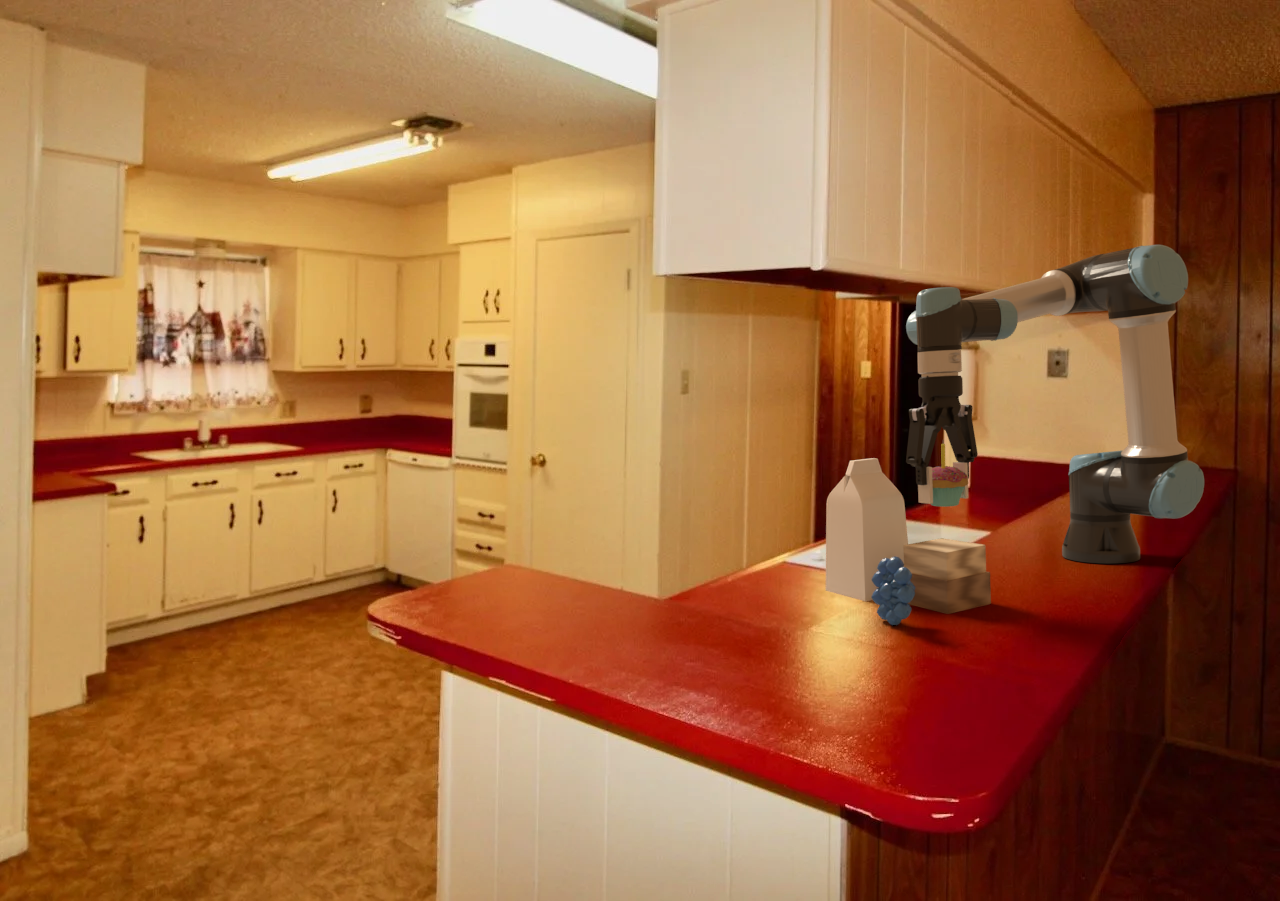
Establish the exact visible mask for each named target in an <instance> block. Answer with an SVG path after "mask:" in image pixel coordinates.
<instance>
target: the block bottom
mask: <svg viewBox="0 0 1280 901" xmlns="http://www.w3.org/2000/svg"><path fill="white" fill-rule="evenodd" d="M910 581H911V582H912V583H913V584H914V586H915V596H914V598H913V599H912V600H911V601H910V602H909V603H908V604H909V605H910V606H915V607H917V608H918V607H919V608H923V609H927V610H930V611H935V612H938V613H942V614H946V615H949V614H954V613H958V612H962V611H967V610H972V609H975V608H980V607H983V606H988V605H990V604H991V603H992V598H991V597H992V596H991V595H992V594H991V572H990V571H986V572H985V573H981V574H976V575H971V576H967V577H962V578H958V579H953V580H948V581H946V580H941V579H936V578H931V577H926V576H922V575H917V574H912V578H911V580H910Z"/></svg>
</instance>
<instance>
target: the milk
mask: <svg viewBox="0 0 1280 901" xmlns="http://www.w3.org/2000/svg"><path fill="white" fill-rule="evenodd" d="M905 505H906V504H905V499H904V496H903V495H902V493H901V491H900V490H899V489H898V488H897V487H896V486H895V485H894V483H893V482H892V481H891V480H890V479H889V477H887V476H886V474H885V473H884V472H883V471H882V467H881V465H880V462H879V459H878V458H875V457H873V458H872V457H871V458H862V459H855V460H849V462H848V466H847V469H846V472H845V475H844V476H843V477H842V479H840V481H839V482H838V483H837V484H836V485H835V487H834V488H833V489H832V490H831V492H829V494H828V496H827V498H826V509H825V510H826V511H825V512H826V513H825V514H826V517H825V518H826V522H825V524H826V525H825V533H826V534H825V591H826V592H829V593H834V594H837V595H841V596H844V597H848V598H851V599H855V600H859V601H861V602H869V601H873V599H872V598H871V597H872V594H873V592H874V591H875V590H876V589H877V588H879V587H876V586H875V585H874V583H873V582H872V577H873V575H874V574H875V573H876V572H877V571H879V570H878V569H877V567H878V564H879V563H880V561H881V560H882V559H884V558H889V559H891V558H892V557H895V556H896V557H899V558H900V559H901V560H902V561H903V563H904V546H903V545H907V544H909V538H908V529H907V528H908V526H907V518H906V517H907V516H906V507H905Z"/></svg>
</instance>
